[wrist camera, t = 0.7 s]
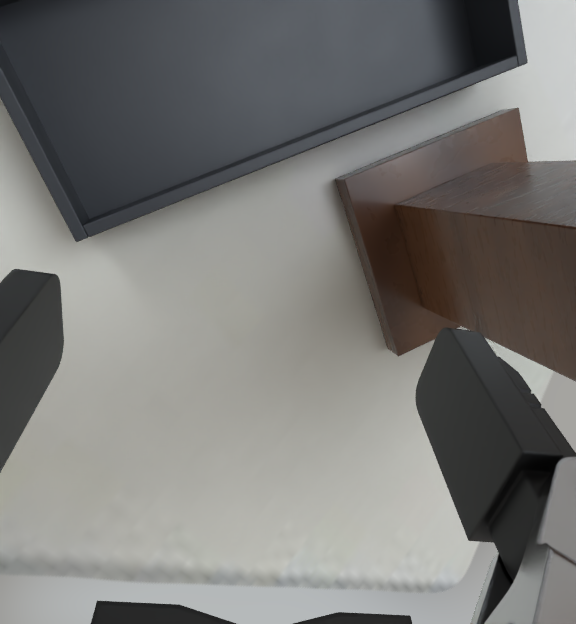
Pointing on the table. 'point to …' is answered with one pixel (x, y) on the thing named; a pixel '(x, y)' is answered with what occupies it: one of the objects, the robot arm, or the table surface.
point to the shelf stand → (470, 241)
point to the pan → (222, 86)
